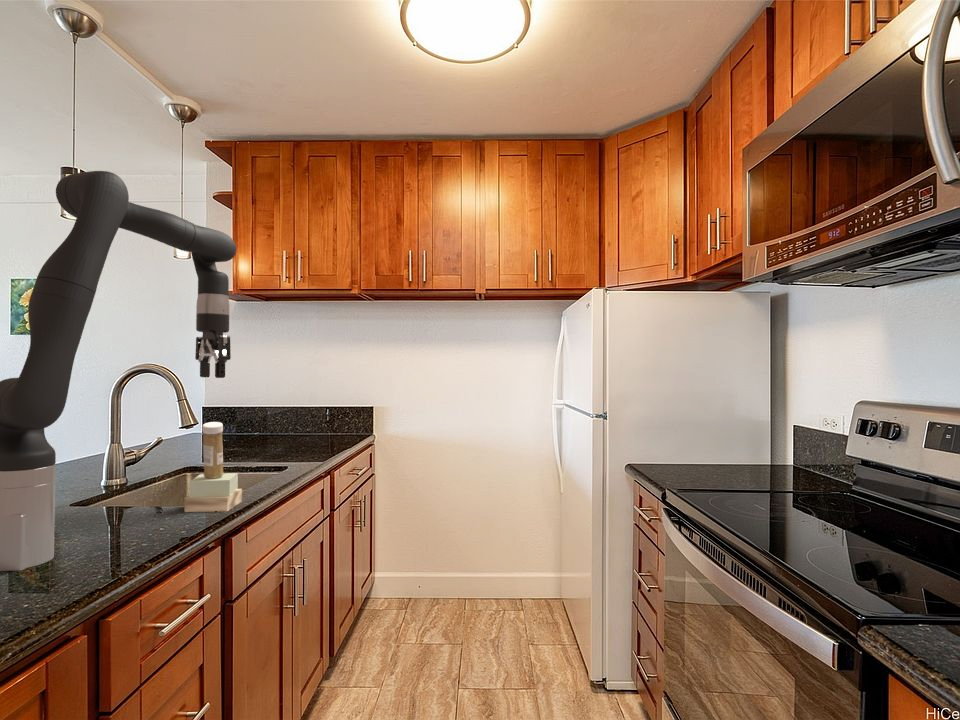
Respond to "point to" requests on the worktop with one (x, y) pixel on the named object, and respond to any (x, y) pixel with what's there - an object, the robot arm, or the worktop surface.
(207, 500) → the tower base
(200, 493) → the tower top
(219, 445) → the sprinkles bottle
